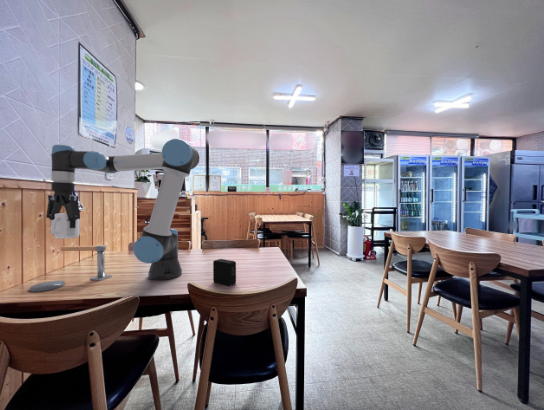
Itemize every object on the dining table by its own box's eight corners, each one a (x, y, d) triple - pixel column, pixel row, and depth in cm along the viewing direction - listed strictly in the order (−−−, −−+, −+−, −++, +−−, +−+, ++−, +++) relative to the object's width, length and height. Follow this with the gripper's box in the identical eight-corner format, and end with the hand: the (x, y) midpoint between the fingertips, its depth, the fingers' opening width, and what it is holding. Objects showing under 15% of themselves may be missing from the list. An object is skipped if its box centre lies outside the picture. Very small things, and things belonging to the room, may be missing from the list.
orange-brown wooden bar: (102, 251, 113) (102, 246, 113) (59, 251, 112) (59, 247, 112) (107, 249, 117) (107, 245, 117) (66, 249, 116) (66, 245, 116)
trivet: (71, 283, 107) (71, 281, 107) (42, 293, 96) (42, 290, 96) (52, 281, 110) (52, 279, 110) (22, 290, 99) (22, 288, 99)
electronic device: (229, 286, 104) (229, 263, 104) (213, 282, 109) (213, 260, 109) (236, 283, 108) (236, 261, 107) (219, 279, 113) (219, 258, 113)
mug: (61, 240, 97) (61, 214, 97) (40, 240, 97) (40, 214, 97) (84, 236, 109) (84, 213, 109) (65, 235, 109) (65, 212, 109)
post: (111, 276, 117) (111, 250, 117) (100, 280, 111) (99, 252, 111) (101, 275, 119) (101, 249, 118) (89, 279, 113) (89, 251, 113)
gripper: (91, 183, 104) (90, 235, 104) (54, 182, 109) (54, 232, 110) (73, 181, 97) (72, 238, 97) (34, 181, 102) (34, 235, 102)
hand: (62, 235), depth 103 cm, fingers closed on mug, 8 cm apart
